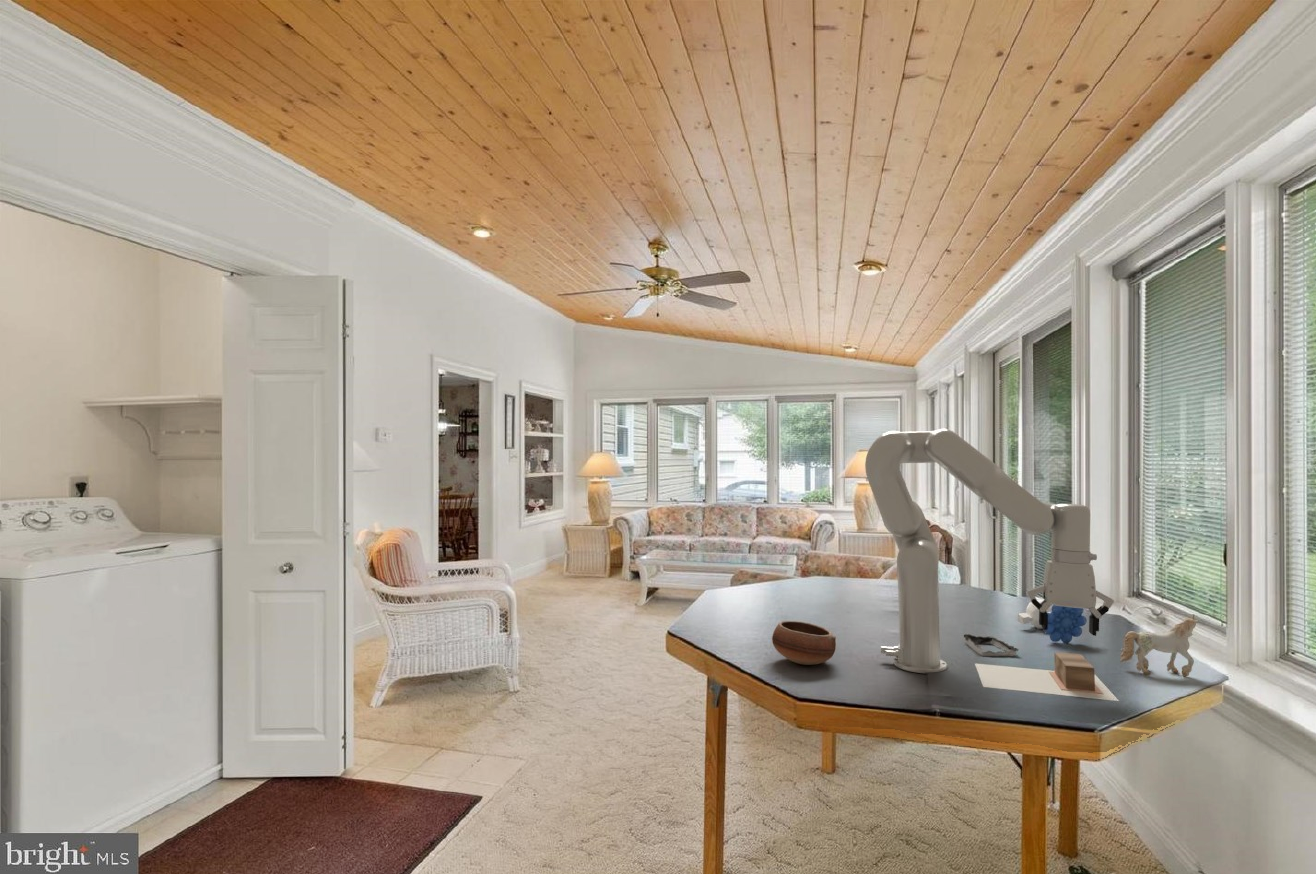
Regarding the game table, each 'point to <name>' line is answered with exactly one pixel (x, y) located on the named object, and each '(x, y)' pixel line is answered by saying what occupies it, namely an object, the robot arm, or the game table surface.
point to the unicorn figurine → (1161, 645)
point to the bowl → (804, 642)
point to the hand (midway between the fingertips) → (1068, 631)
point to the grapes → (1065, 623)
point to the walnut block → (1074, 671)
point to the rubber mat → (1036, 682)
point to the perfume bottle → (1032, 615)
